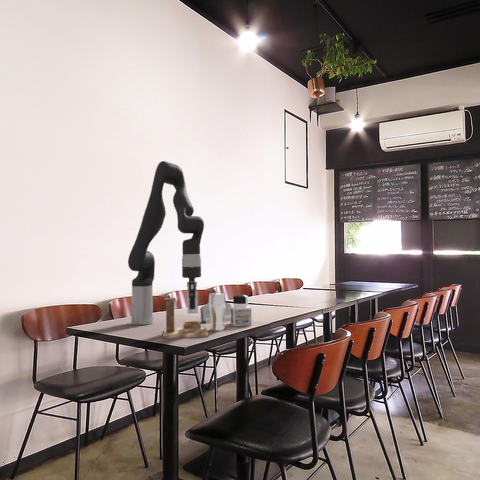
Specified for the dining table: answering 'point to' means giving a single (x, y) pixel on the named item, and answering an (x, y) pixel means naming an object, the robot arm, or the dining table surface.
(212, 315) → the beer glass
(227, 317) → the card swipe reader
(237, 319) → the container
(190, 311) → the brushed grey block
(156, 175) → the robot arm
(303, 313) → the dining table surface
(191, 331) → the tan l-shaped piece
